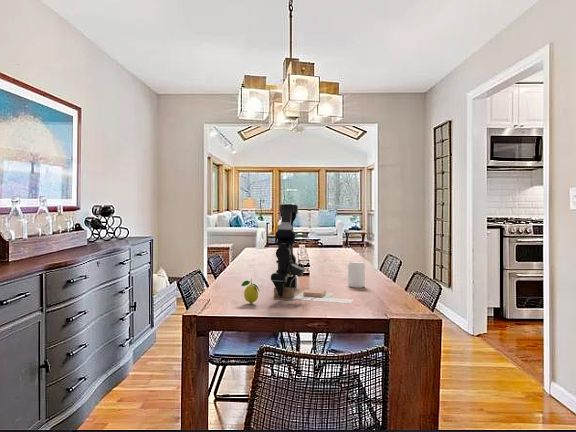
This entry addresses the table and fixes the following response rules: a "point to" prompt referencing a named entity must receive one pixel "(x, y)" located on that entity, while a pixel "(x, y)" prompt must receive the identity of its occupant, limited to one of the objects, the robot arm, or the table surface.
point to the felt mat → (321, 297)
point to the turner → (290, 294)
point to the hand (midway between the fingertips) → (284, 294)
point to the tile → (314, 293)
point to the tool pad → (333, 300)
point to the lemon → (250, 292)
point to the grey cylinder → (356, 274)
